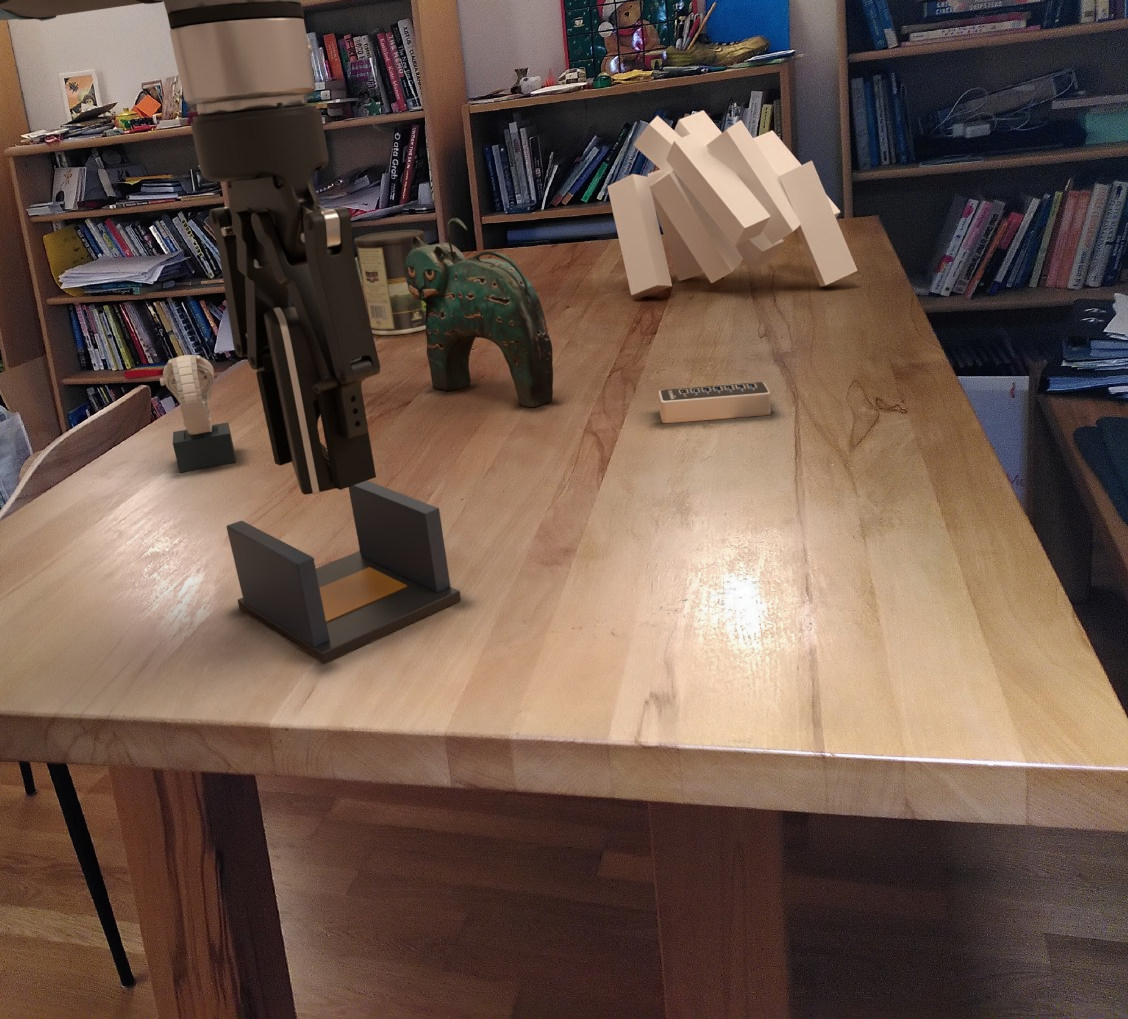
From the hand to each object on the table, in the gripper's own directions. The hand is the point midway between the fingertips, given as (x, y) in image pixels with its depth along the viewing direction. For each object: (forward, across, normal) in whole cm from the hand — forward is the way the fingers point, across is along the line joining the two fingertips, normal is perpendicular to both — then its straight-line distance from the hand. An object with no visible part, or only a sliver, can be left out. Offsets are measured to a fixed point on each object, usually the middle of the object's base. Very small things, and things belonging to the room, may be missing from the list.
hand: (323, 469), depth 70 cm
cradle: (+10, 0, 0) cm, 10 cm away
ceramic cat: (+10, +34, -40) cm, 53 cm away
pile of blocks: (+11, +48, -100) cm, 112 cm away
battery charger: (+1, 0, 0) cm, 1 cm away
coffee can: (+10, +76, -56) cm, 95 cm away
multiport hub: (+11, +7, -48) cm, 49 cm away
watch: (+10, +41, -8) cm, 43 cm away
